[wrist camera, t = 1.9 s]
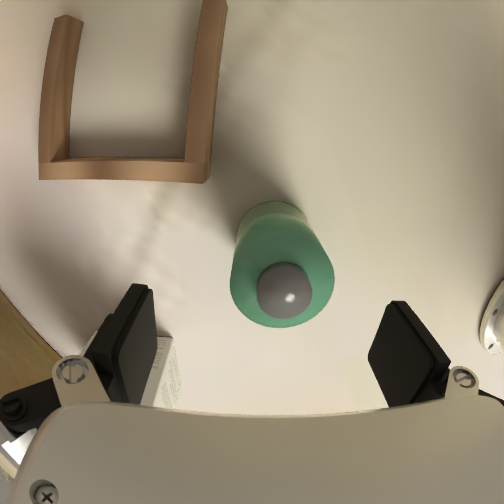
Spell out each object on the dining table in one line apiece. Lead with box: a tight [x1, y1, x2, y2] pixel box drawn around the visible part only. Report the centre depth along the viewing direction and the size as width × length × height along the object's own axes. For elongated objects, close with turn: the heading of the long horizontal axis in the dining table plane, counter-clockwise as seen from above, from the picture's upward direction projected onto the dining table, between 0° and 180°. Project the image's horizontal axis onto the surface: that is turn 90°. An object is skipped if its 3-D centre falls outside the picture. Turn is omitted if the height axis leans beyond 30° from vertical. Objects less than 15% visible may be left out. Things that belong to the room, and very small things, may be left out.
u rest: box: [39, 0, 228, 184], centre depth 16 cm, size 12×12×2 cm
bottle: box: [230, 201, 335, 328], centre depth 17 cm, size 5×5×8 cm
